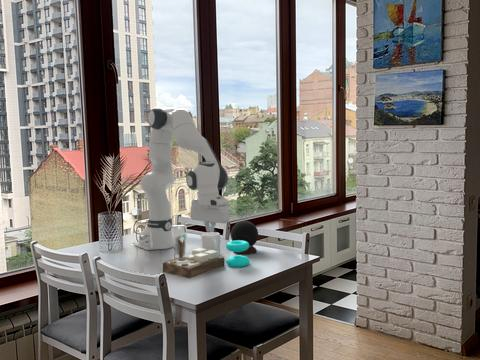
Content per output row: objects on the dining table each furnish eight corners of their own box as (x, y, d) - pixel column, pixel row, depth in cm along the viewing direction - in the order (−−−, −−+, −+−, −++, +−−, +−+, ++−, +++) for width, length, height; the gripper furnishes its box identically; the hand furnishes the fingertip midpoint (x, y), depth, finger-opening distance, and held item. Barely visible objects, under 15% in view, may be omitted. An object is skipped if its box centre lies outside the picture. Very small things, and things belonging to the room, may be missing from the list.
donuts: (253, 242, 216) (235, 246, 210) (254, 264, 217) (236, 269, 211) (239, 238, 224) (221, 242, 218) (240, 260, 225) (222, 264, 219)
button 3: (192, 258, 221) (192, 249, 221) (199, 256, 224) (199, 247, 224) (199, 260, 218) (199, 251, 218) (206, 258, 222) (206, 249, 221)
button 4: (203, 261, 217) (203, 252, 216) (211, 258, 220) (210, 249, 219) (211, 262, 214) (211, 253, 213) (218, 260, 217) (218, 251, 217)
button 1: (182, 265, 217) (182, 256, 216) (190, 263, 220) (189, 254, 220) (189, 267, 214) (189, 257, 213) (197, 264, 217) (196, 255, 217)
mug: (225, 258, 229) (224, 236, 228) (207, 260, 227) (207, 238, 226) (217, 252, 241) (216, 231, 240) (200, 254, 238) (199, 233, 237)
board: (162, 271, 211) (162, 261, 211) (198, 260, 227) (197, 250, 227) (189, 278, 201) (188, 267, 200) (224, 266, 217) (224, 255, 216)
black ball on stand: (263, 253, 237) (262, 221, 235) (236, 256, 232) (235, 224, 230) (252, 247, 249) (251, 217, 247) (227, 250, 244) (226, 219, 243)
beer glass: (181, 261, 227) (180, 228, 225) (169, 259, 231) (168, 227, 229) (191, 257, 233) (189, 225, 231) (179, 255, 237) (178, 224, 235)
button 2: (194, 264, 212) (193, 255, 212) (201, 261, 215) (200, 252, 215) (201, 265, 209) (201, 256, 209) (208, 263, 213) (208, 254, 212)
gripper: (186, 199, 218) (187, 230, 220) (221, 202, 205) (222, 235, 206) (196, 197, 223) (198, 228, 224) (231, 200, 210) (232, 232, 211)
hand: (210, 231), depth 215 cm, fingers closed
